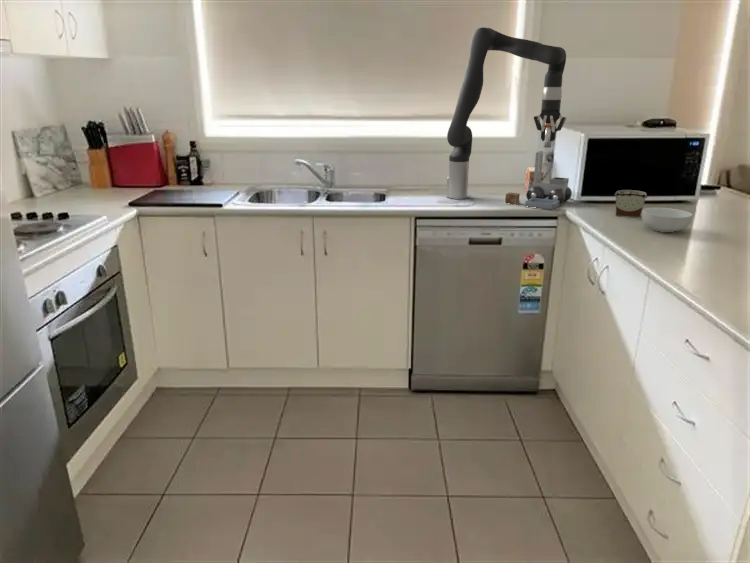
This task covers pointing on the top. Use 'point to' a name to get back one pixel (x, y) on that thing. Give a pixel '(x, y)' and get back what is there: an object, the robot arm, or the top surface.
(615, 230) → the top surface
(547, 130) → the pin
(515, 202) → the block
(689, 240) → the top surface
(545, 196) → the trolley
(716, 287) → the top surface
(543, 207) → the tray
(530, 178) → the stack of blocks
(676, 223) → the cereal bowl
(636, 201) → the food container
